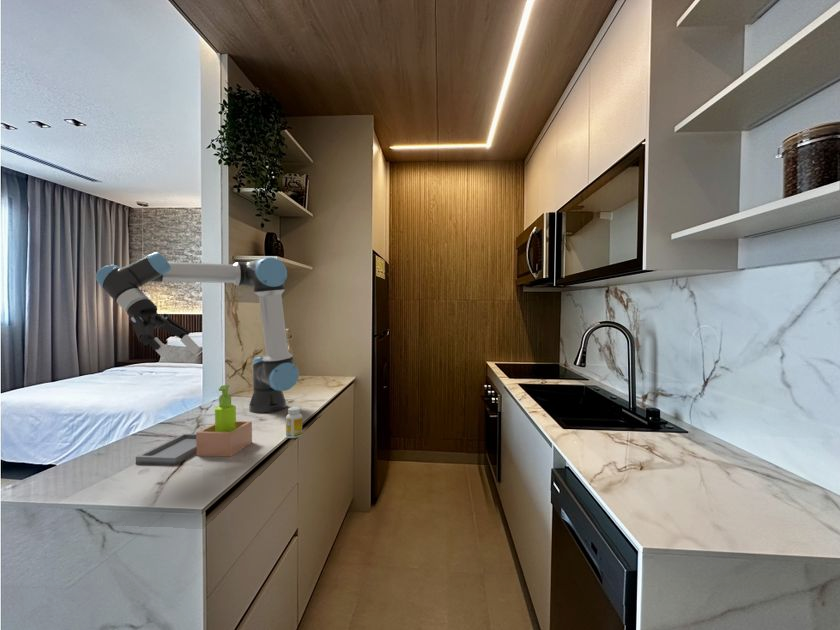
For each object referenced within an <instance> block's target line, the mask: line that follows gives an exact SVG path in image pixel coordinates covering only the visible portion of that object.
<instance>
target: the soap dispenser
mask: <svg viewBox="0 0 840 630" xmlns="http://www.w3.org/2000/svg"><path fill="white" fill-rule="evenodd" d="M229 387H230V385H229V384H226V385H225V384H224V385H221V386H220V387H219V389H218V391H219V392H220V391H221V395H220V396H219V397H218V400H219V401H218V403H219V405H218V406H217V407H215V408H214V423H215V432H231V431H233V430H235V429H236V421H237V415H236V414H237V413H236V409H237V408H236V405H234V404H232V395H231V394H229Z"/></svg>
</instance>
